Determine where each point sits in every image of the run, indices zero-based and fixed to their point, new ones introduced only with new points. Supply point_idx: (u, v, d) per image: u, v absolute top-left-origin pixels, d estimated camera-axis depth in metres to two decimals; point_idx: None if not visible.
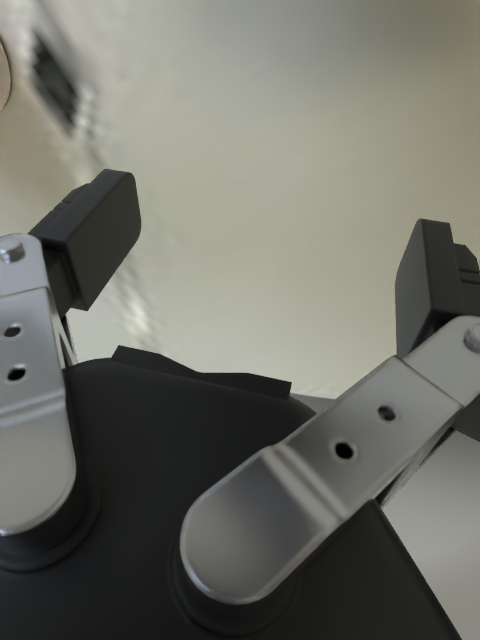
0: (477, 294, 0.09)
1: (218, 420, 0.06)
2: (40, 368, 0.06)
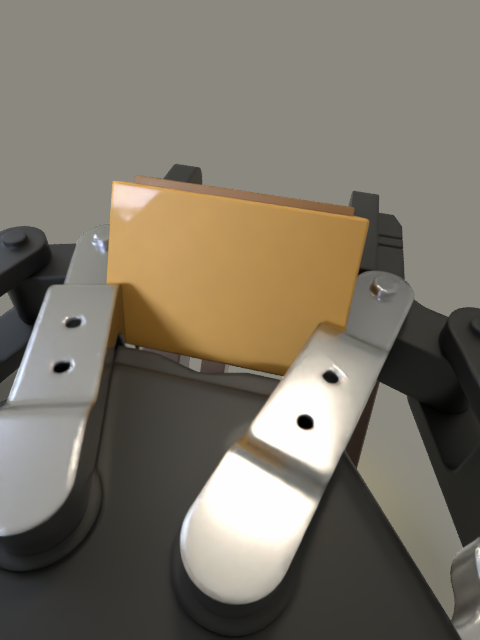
0: (395, 256, 0.10)
1: (218, 420, 0.06)
2: (83, 367, 0.06)
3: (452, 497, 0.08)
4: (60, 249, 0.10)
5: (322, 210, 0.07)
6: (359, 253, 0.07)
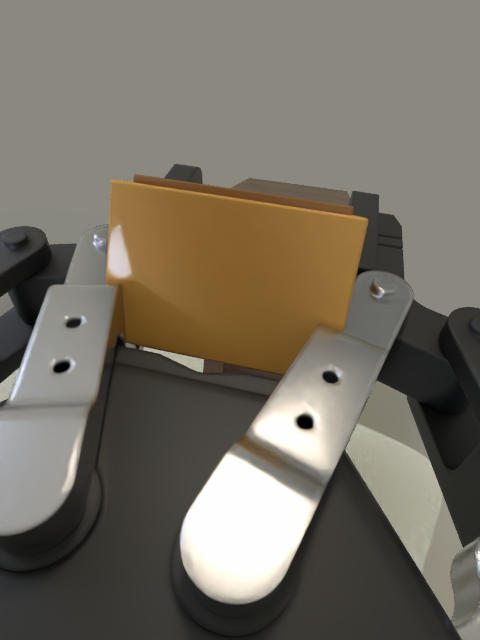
0: (395, 256, 0.10)
1: (218, 420, 0.06)
2: (84, 367, 0.06)
3: (452, 497, 0.08)
4: (60, 249, 0.10)
5: (321, 209, 0.07)
6: (358, 252, 0.07)
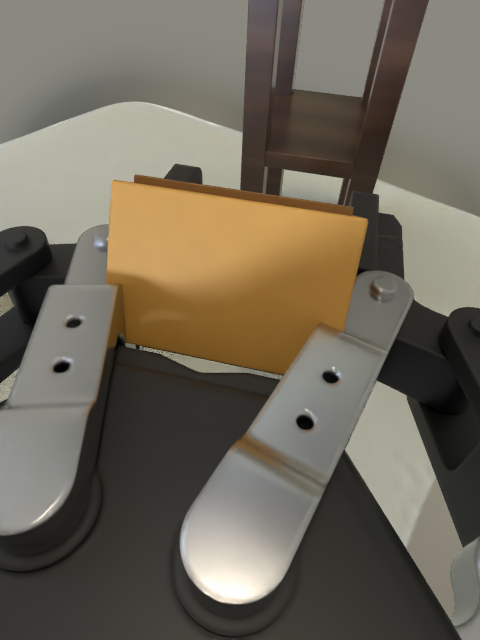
0: (395, 256, 0.10)
1: (218, 420, 0.06)
2: (83, 367, 0.06)
3: (452, 497, 0.08)
4: (60, 249, 0.10)
5: (321, 209, 0.07)
6: (358, 252, 0.07)
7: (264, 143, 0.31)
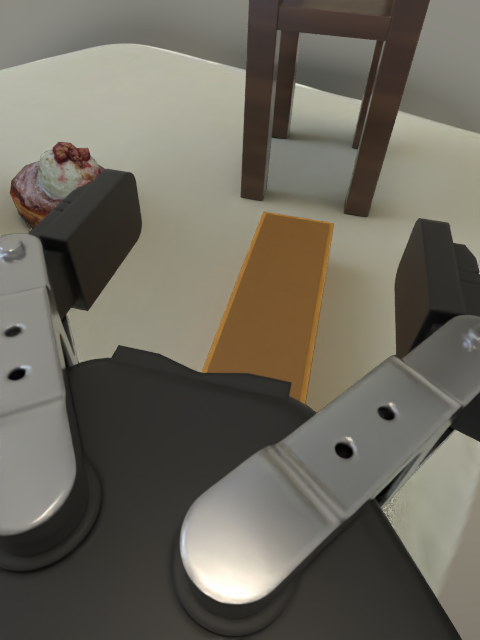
0: (476, 294, 0.09)
1: (218, 420, 0.06)
2: (40, 368, 0.06)
3: None
4: None
5: None
6: None
7: None
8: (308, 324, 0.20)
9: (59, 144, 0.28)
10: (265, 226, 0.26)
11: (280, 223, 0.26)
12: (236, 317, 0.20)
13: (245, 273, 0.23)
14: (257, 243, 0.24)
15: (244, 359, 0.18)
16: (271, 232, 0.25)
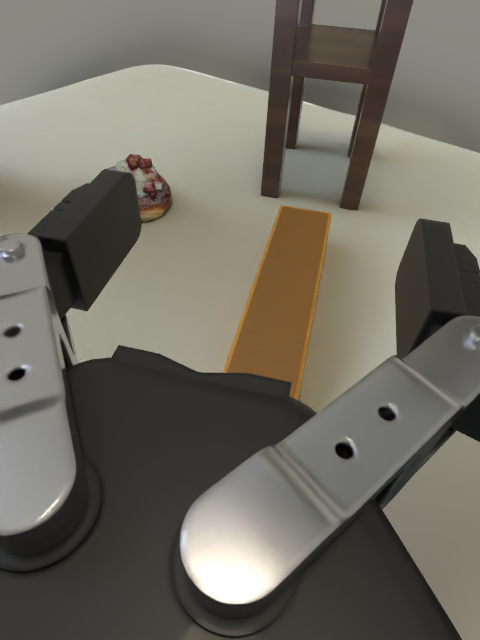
0: (477, 294, 0.09)
1: (218, 420, 0.06)
2: (40, 368, 0.06)
3: None
4: None
5: None
6: None
7: (292, 51, 0.35)
8: (313, 277, 0.30)
9: (131, 156, 0.39)
10: (282, 215, 0.36)
11: (293, 213, 0.36)
12: (266, 273, 0.31)
13: (270, 246, 0.33)
14: (277, 226, 0.35)
15: (272, 297, 0.29)
16: (286, 219, 0.36)
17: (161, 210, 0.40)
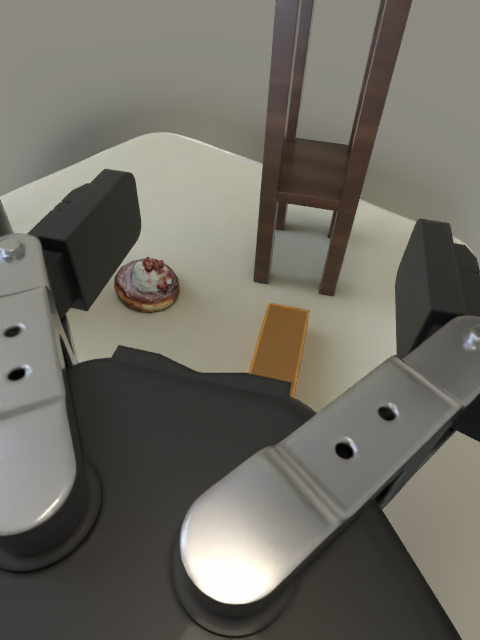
0: (477, 294, 0.09)
1: (218, 420, 0.06)
2: (40, 368, 0.06)
3: None
4: None
5: None
6: None
7: (276, 186, 0.44)
8: (292, 376, 0.39)
9: (147, 260, 0.47)
10: (270, 313, 0.45)
11: (278, 311, 0.45)
12: (255, 372, 0.39)
13: (259, 345, 0.42)
14: (265, 325, 0.44)
15: None
16: (273, 318, 0.44)
17: (171, 300, 0.49)
